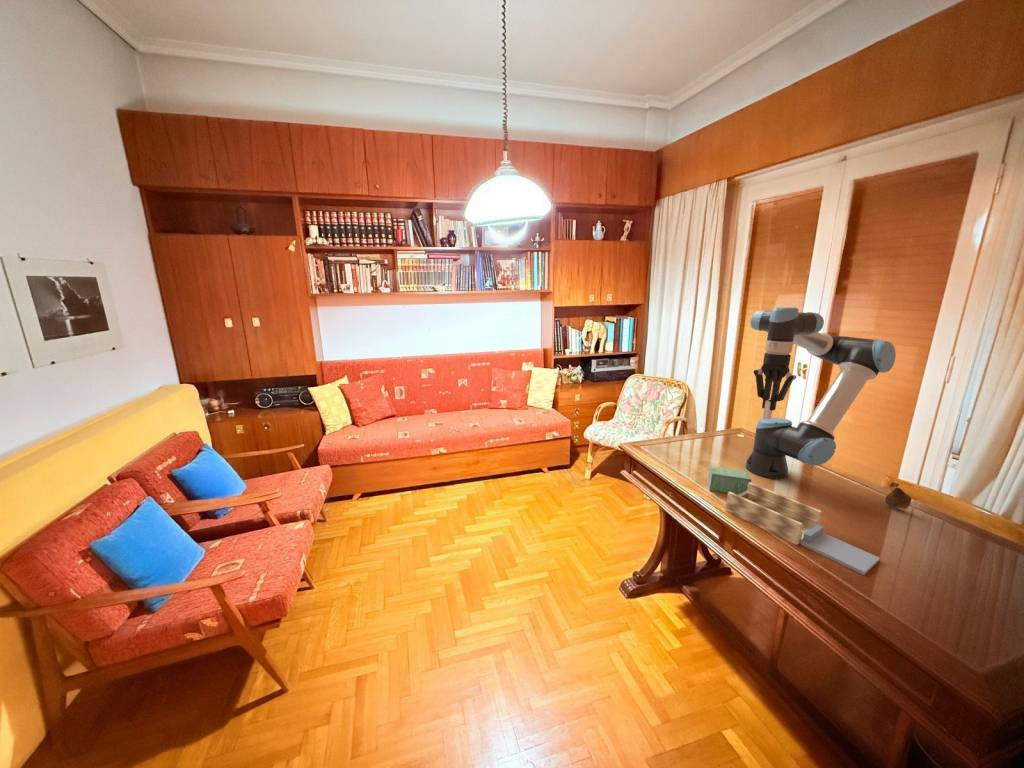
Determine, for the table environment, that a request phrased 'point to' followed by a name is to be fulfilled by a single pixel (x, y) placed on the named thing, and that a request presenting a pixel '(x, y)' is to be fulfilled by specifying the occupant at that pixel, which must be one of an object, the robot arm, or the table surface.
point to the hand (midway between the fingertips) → (766, 418)
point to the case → (773, 512)
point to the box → (727, 480)
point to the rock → (898, 498)
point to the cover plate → (838, 550)
